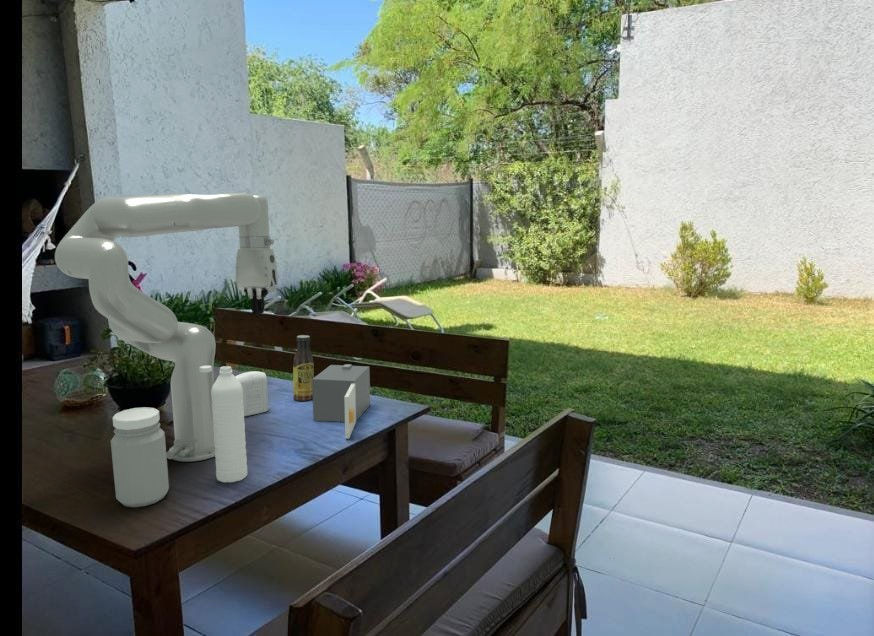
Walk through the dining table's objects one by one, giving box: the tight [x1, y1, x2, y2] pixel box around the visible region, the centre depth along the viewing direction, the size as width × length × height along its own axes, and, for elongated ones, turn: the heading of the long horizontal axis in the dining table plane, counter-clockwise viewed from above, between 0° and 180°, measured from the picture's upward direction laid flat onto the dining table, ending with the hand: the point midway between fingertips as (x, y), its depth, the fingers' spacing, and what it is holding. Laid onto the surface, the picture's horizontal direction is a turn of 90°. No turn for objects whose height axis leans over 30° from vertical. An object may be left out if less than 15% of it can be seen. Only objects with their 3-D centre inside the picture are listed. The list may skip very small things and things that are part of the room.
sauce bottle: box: [292, 334, 315, 402], centre depth 189 cm, size 7×6×20 cm
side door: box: [344, 383, 357, 439], centre depth 162 cm, size 2×13×11 cm, turn 179°
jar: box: [110, 406, 170, 508], centre depth 123 cm, size 10×10×18 cm
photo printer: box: [234, 370, 269, 417], centre depth 176 cm, size 10×4×12 cm, turn 134°
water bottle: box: [200, 365, 248, 484], centre depth 133 cm, size 9×6×25 cm
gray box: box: [312, 363, 371, 423], centre depth 177 cm, size 16×14×13 cm
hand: (258, 313), depth 162 cm, fingers closed
